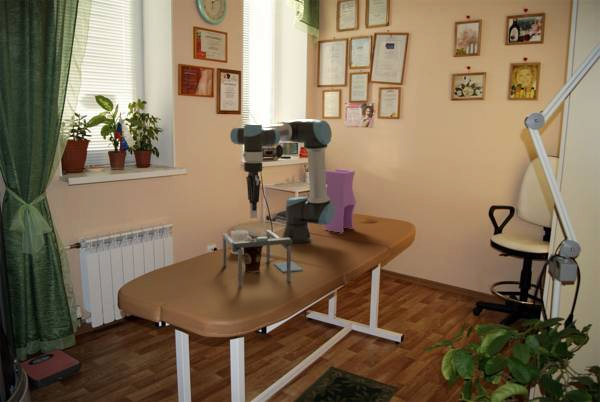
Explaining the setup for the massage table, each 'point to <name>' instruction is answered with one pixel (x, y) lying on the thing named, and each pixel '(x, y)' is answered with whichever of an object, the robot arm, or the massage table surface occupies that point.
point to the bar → (260, 242)
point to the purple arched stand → (341, 199)
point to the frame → (273, 235)
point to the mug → (239, 237)
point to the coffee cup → (252, 258)
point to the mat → (283, 267)
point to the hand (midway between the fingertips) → (253, 217)
